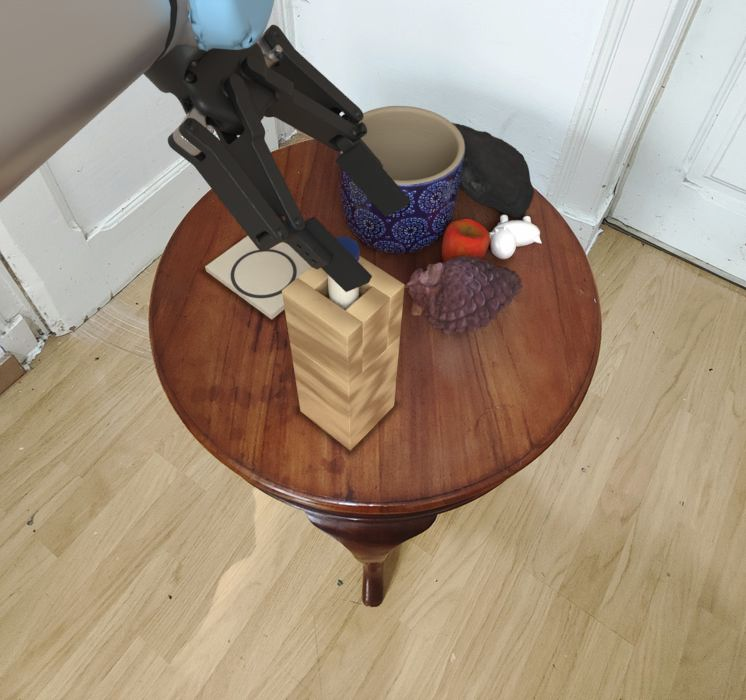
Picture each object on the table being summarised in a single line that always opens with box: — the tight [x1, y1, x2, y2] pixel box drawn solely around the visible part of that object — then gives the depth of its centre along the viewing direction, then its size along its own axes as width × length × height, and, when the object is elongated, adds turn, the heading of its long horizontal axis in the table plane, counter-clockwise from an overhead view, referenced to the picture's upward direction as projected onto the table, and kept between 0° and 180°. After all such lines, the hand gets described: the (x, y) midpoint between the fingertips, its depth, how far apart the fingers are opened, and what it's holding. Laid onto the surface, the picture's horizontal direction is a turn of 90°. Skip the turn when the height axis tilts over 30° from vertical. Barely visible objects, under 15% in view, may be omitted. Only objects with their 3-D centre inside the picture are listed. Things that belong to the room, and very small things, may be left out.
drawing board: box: [204, 235, 311, 320], centre depth 88 cm, size 11×13×1 cm
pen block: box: [282, 255, 405, 451], centre depth 67 cm, size 8×8×22 cm
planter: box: [337, 105, 465, 255], centre depth 88 cm, size 16×17×15 cm
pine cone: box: [404, 256, 523, 336], centre depth 81 cm, size 18×10×10 cm
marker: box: [328, 236, 360, 311], centre depth 59 cm, size 3×3×13 cm
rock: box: [451, 122, 535, 221], centre depth 92 cm, size 15×14×7 cm
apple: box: [441, 218, 491, 263], centre depth 86 cm, size 6×6×8 cm
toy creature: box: [489, 214, 543, 260], centre depth 90 cm, size 5×8×6 cm
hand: (379, 244), depth 52 cm, fingers open, 9 cm apart
